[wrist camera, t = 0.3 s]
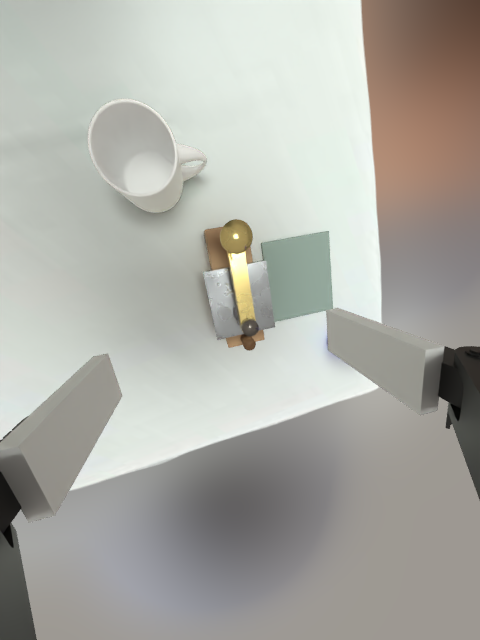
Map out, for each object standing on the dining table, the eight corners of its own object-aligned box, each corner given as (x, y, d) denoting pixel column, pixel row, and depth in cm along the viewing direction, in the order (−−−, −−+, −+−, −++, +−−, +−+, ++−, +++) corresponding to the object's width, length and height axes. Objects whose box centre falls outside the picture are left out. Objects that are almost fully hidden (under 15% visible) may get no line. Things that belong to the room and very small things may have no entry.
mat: (261, 243, 38) (261, 243, 38) (327, 231, 40) (328, 230, 39) (271, 321, 42) (272, 322, 42) (331, 308, 44) (332, 308, 43)
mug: (211, 206, 36) (216, 187, 25) (131, 218, 34) (103, 201, 24) (199, 142, 33) (200, 91, 23) (113, 151, 32) (73, 101, 22)
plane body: (204, 233, 36) (206, 224, 26) (240, 227, 37) (257, 215, 27) (225, 337, 42) (234, 364, 31) (257, 330, 42) (276, 354, 32)
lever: (215, 226, 28) (217, 222, 25) (243, 222, 29) (249, 217, 25) (235, 332, 33) (240, 341, 29) (259, 327, 33) (267, 335, 29)
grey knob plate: (202, 271, 33) (203, 272, 31) (262, 260, 34) (267, 260, 32) (216, 335, 36) (217, 341, 34) (271, 323, 37) (276, 328, 35)
